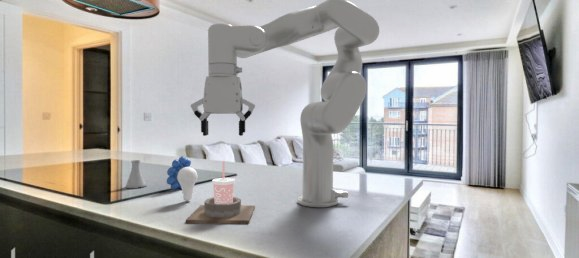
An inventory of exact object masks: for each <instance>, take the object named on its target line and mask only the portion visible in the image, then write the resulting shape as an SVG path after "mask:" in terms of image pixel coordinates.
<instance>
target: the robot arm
mask: <svg viewBox="0 0 579 258" xmlns="http://www.w3.org/2000/svg"><path fill="white" fill-rule="evenodd" d="M334 29H336V30H335V32H334V44H335V48H336V51H337V59H336V62H335V63H334V65H333V67H332V68H331V70H330V71H329V74H328V75H327V76H326V78H325V79H324V81H323V83H322V85H321V88H320V96H321V98H322V100H323V101H314V102H310V103H308V104H307V105H305V106H304V107H303V109H302V110H301V114H300V117H299V119H300V127H301V128H300V129H301V134H302V194H301V196H298V197H297V204H299V205H302V206H304V207H309V208H310V207H311V208H329V207H334V206H336V205H338V201H339V200H338V199H339V198H342V199H343V198H344V199H347V198H348V197H349V192H348V191H343V190H336V189H335V188H334V141H333V137H332V135H335V134H340V133H342V132H344V131H345V130H346V129H347V128H348V127H349V125H350V124H351V122H352V121H353V119H354V117H355V115H356V113H357V112H358V110H359V108H361V107H360V106H361V105H362V104H363V102H364V100H365V98H366V94H367V90H368V88H367V87H368V86H367V82H366V78H364V76H363V75H362V74H361V71H362V69H363V60H362V56H361V52H360V49H359V48H360V47H364V46H369V45H371V44H373V43H374V42H375V41H376V40H377V39H378V38H379V34H380V25H379V23H378V22H377V20H376V19H375V18H374V17H373V16H372V15H371V14H369V13H368V12H366V11H364V10H363V9H362V8H360V7H359V6H357V5H355V4H354V3H352V2H351V1H349V0H325V1H323V2H320V3H319V4H316V5H315V4H314V5H313V6H309V7H305V8H303V9H299V10H295V11H291V12H289V13H288V12H287V13H286V14H284V15H281V16H279V17H277V18H276V19H274V20H272V21H270V22H268V23H265V24H264V25H263V24H262V25H261V26H257V25H251V24H250V25H248V24H247V25H231V24H228V23H214V24H211V25H210V26H209V27H208V29H207V45H208V46H207V48H208V49H207V52H208V53H207V54H208V56H207V60H208V76H206V77H205V79H204V80H205V81H204V88H203V97H202V98H201V99H199V100H196V101H195V102H193V103H191V104H190V108H191V110H192V112H193V115H195V117H197V118H198V119H199V121H200V132H201V133H202V136H205V137H206V136H208V135H209V120H208V118H209V116H210V115H212V114H213V115H215V114H217V115H218V114H220V115H223V114H224V115H227V114H229V115H230V114H232V115H235V114H236V116H237V117H238V118H239V121H238V135H239V137H242V136H243V135H244V133H246V120H247V119H248V118H250V116H251V115H252V113H253V112H254V110H255V108H256V104H255V103H252V102H250V101H249V100H247V99H245V98H243V89H242V81H241V77H240V76H238V74H240V73H241V74H242V73H243V67H239V66H238V64H237V63H238V61H237V60H238V59H237V58H239V59H246V58H250V57H253V56H256V55H259V54H261V53H265V52H268V51H271V50H274V49H278V48H281V47H285V46H289V45H291V44H294V43H298V42H301V41H303V40H306V39H309V38H310V39H311V38H312V37H313V38H314V37H316V36H319V35H323V34H325V33H327V32H331V30H334ZM243 105H245V106H247V107H248V109H247V111H246V112H245V113H243V109H244V107H243ZM200 106H203V113H202V112H201V111H200V110H199V107H200Z"/></svg>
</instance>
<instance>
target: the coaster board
mask: <svg viewBox="0 0 579 258" xmlns="http://www.w3.org/2000/svg"><path fill="white" fill-rule="evenodd" d="M203 202H204V204H200V205H199V206H198V207H197V208H196V209H195V210H194V211H193V212H192V213H191V214H190V215H189V216H188V217H187V218H186V219H185V223H186V224H241V223H249V224H250V222H251V219H252V217H253V215H254V212H255V208H256V205H247V204H246V205H242V199H241V198H239V197H237V196H233V203H230V204H215V203H214V196H213V197H211V198H207V199H205V200H204V201H203ZM253 211H254V212H253Z"/></svg>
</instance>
